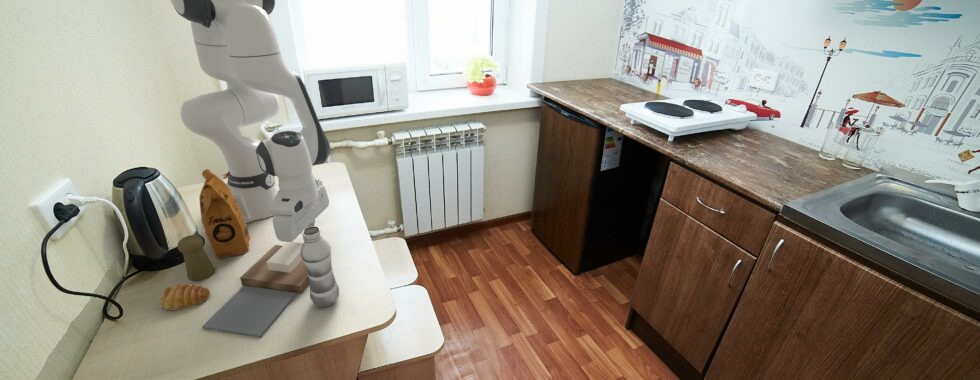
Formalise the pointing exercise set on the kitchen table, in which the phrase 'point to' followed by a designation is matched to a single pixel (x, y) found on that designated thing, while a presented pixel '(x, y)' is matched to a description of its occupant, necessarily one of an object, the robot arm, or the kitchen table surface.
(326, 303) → the plastic bottle
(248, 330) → the mat
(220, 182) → the coffee package
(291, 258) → the tile
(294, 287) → the stand
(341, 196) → the kitchen table surface
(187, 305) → the pastry
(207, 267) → the cork
